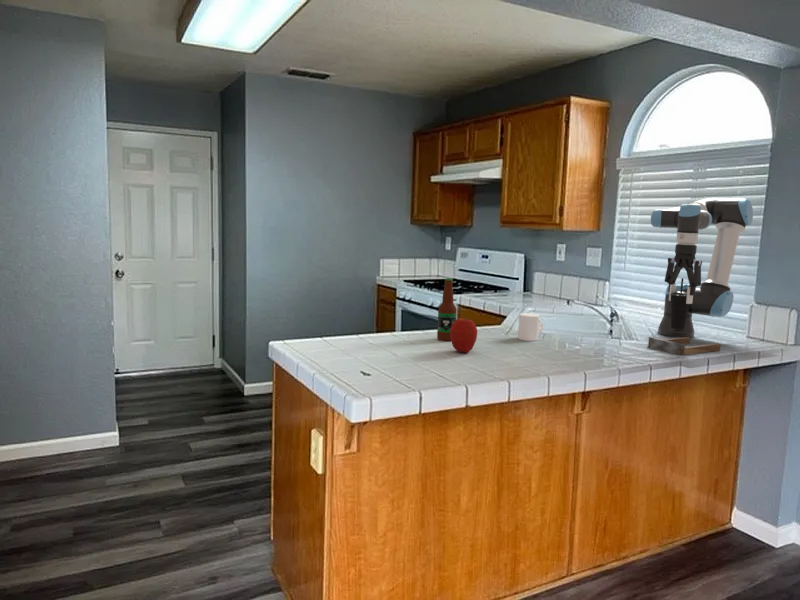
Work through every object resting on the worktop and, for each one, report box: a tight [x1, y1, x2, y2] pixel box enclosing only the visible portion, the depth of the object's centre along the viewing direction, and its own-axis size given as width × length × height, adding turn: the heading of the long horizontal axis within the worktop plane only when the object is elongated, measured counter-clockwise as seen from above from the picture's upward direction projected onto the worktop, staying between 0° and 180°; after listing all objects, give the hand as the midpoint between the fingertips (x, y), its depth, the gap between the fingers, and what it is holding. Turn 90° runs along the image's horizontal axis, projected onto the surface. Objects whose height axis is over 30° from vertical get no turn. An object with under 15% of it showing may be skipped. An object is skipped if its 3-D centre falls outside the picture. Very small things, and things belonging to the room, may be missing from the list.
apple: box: [450, 315, 478, 354], centre depth 220 cm, size 10×10×14 cm
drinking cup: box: [670, 277, 689, 329], centre depth 236 cm, size 8×8×20 cm
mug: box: [517, 312, 544, 342], centre depth 250 cm, size 8×10×12 cm
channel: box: [647, 336, 721, 356], centre depth 241 cm, size 15×24×4 cm, turn 118°
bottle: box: [436, 277, 457, 342], centre depth 241 cm, size 7×7×25 cm
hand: (680, 302), depth 236 cm, fingers closed on drinking cup, 7 cm apart
